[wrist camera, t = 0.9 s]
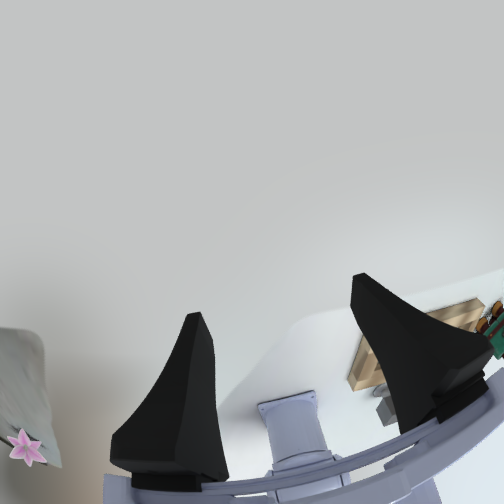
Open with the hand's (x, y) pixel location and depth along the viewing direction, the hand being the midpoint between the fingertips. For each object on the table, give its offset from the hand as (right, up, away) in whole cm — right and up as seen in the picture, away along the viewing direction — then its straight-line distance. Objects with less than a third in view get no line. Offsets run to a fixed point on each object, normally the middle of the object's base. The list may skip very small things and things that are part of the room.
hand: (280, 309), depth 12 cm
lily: (-62, -48, +28) cm, 84 cm away
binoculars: (+43, -11, +23) cm, 50 cm away
